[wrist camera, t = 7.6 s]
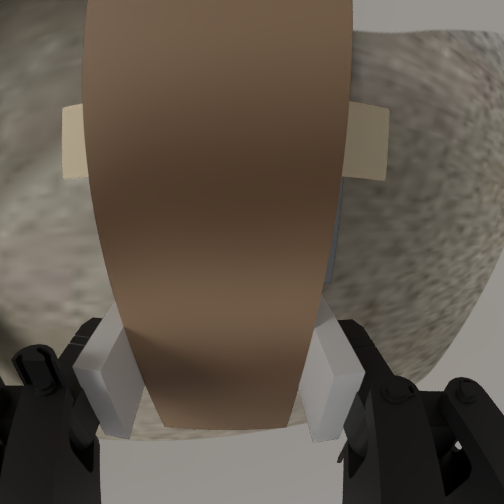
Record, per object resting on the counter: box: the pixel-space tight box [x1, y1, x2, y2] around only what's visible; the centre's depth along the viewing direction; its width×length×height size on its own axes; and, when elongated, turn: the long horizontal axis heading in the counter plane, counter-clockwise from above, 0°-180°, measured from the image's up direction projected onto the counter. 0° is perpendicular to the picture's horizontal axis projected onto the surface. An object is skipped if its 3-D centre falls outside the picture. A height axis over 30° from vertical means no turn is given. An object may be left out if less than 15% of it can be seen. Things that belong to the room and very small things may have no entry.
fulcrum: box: [62, 101, 390, 284], centre depth 13 cm, size 18×14×7 cm
